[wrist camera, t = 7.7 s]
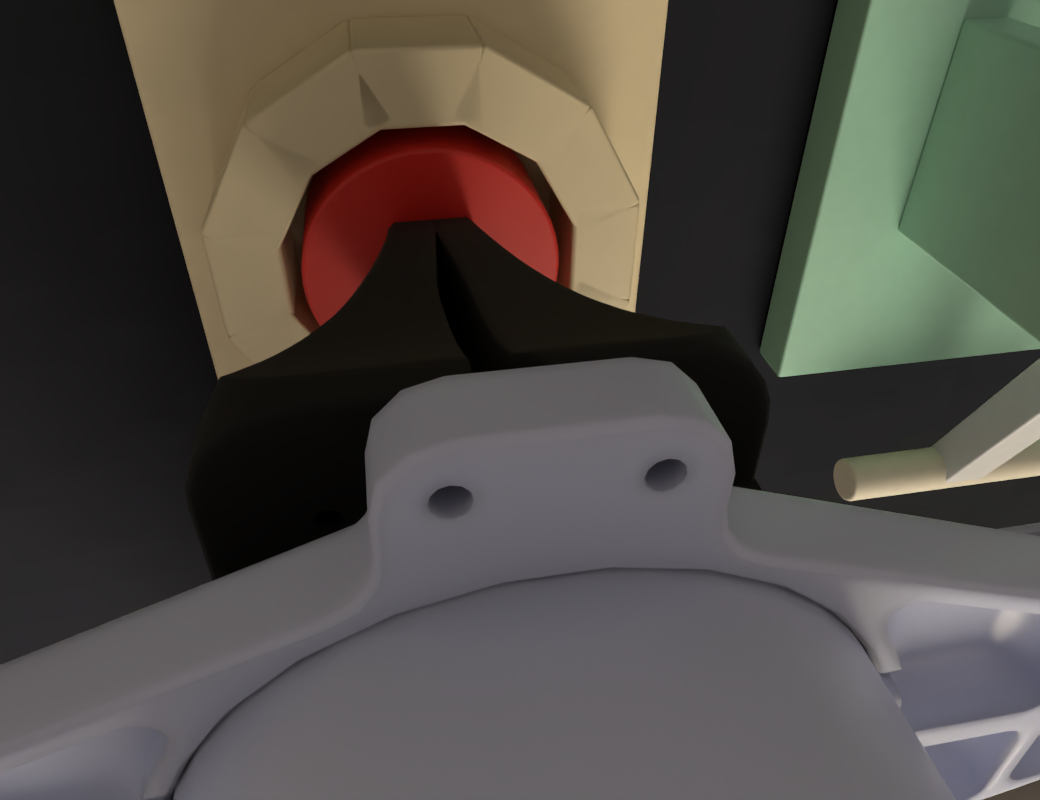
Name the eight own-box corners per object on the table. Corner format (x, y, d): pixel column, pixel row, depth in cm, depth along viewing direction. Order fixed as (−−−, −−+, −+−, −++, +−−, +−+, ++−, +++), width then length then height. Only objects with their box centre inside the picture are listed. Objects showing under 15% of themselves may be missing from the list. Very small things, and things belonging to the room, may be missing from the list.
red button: (535, 313, 17) (555, 368, 15) (323, 333, 16) (321, 391, 15) (539, 101, 14) (564, 140, 13) (285, 114, 14) (279, 157, 12)
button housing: (604, 428, 22) (643, 521, 19) (257, 468, 20) (245, 575, 17) (650, -96, 14) (725, -67, 12) (113, -87, 13) (54, -52, 10)
